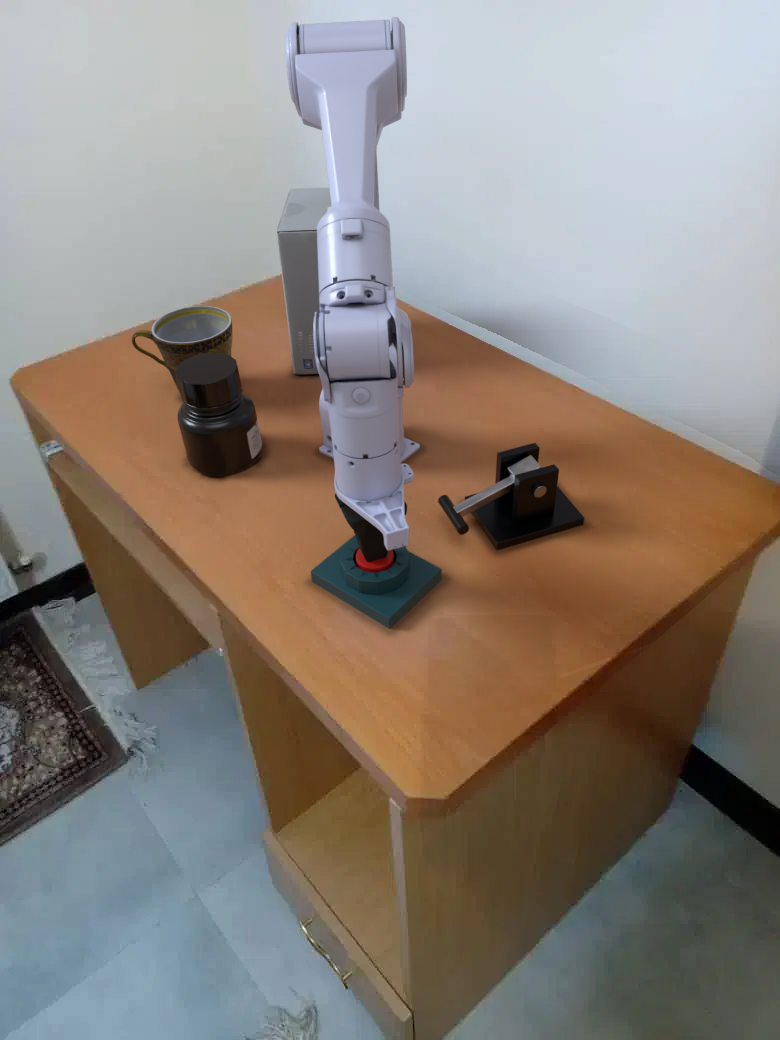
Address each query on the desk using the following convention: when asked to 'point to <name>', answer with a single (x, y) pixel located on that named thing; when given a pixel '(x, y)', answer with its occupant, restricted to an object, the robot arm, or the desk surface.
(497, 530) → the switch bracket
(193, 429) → the ink bottle
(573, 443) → the desk surface
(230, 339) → the ceramic cup
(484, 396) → the desk surface
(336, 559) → the button box
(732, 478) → the desk surface
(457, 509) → the switch lever
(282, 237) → the hard drive box
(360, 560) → the power button
